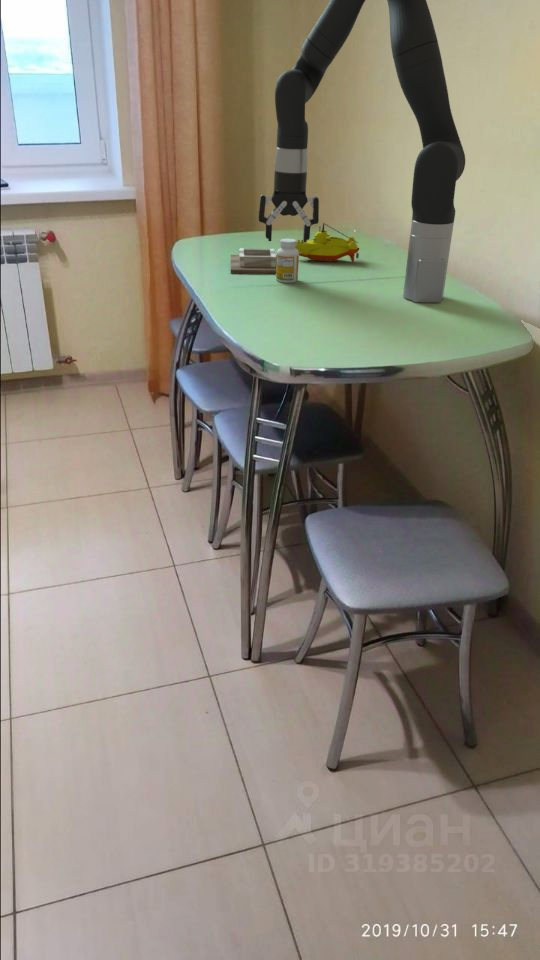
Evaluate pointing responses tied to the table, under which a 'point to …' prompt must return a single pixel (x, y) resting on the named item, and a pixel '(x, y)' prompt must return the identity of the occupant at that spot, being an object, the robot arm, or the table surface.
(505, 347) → the table surface
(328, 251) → the toy boat
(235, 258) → the jig board
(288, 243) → the supplement bottle
